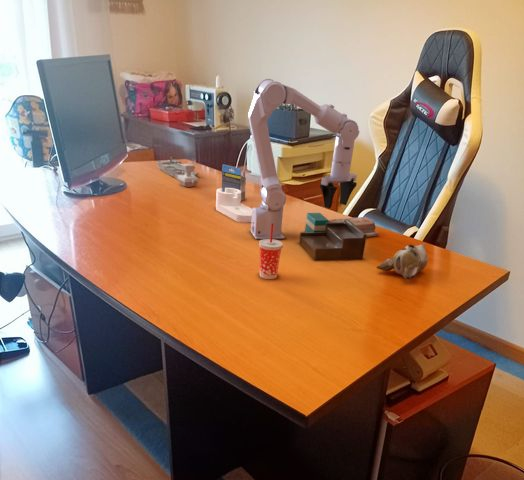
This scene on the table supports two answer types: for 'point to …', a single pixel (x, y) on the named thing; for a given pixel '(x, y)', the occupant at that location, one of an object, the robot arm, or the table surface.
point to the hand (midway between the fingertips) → (335, 205)
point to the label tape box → (233, 180)
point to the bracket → (232, 205)
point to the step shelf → (335, 242)
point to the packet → (315, 222)
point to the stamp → (187, 176)
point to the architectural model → (172, 167)
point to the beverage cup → (269, 257)
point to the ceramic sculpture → (407, 261)
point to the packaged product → (361, 225)
